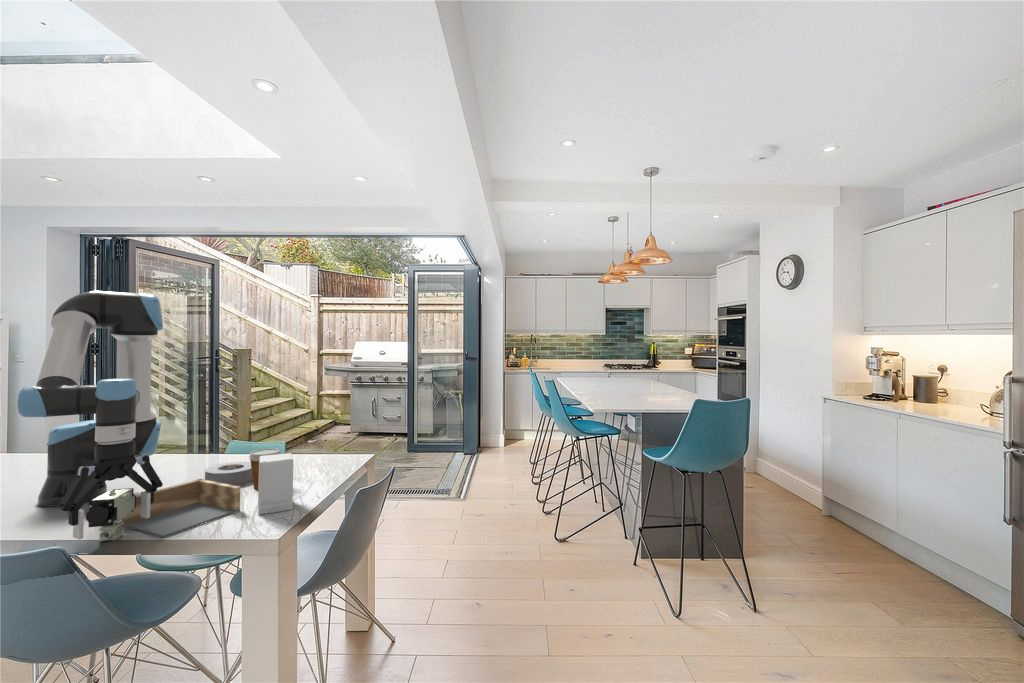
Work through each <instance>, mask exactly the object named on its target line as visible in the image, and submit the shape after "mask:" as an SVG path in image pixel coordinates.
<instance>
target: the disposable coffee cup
mask: <svg viewBox="0 0 1024 683" xmlns="http://www.w3.org/2000/svg"><path fill="white" fill-rule="evenodd" d="M277 454H282V453H281V452H280V449H278V448H264V449H262V448H261V449H257V450H253V451H251V452H250V454H249V456H248V458H249V462H251V469H252V477H253V481H252V482H253V483H252V484H253V489H254V490H256V491H257V490H258V488H259V458H260V456H266V455H277Z"/></svg>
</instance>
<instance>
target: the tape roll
mask: <svg viewBox="0 0 1024 683" xmlns="http://www.w3.org/2000/svg"><path fill="white" fill-rule="evenodd" d="M204 480H209V481H214V482H219V483H224V484H229V485H235V486H242V485H245V483H246V484H249V483H251V482H253V477H252V469H251V461H231V462H223V463H218V464H215V465H211V466H208V467H206V469H205V471H204ZM248 482H249V483H248ZM241 484H242V485H241Z"/></svg>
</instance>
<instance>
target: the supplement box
mask: <svg viewBox="0 0 1024 683" xmlns="http://www.w3.org/2000/svg"><path fill="white" fill-rule="evenodd" d="M257 492H258V494H257V496H258V498H257V499H258V500H257V503H258V504H257V509H258V511H257V512H258V515H265V514H271V513H279V512H284V511H291V510H293V500H294V499H293V498H294V496H293V495H294V458H293V455H292V453H291V452H288V453H287V452H286V453H281V454H277V455H266V456H260V458H259V488H258V491H257Z"/></svg>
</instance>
